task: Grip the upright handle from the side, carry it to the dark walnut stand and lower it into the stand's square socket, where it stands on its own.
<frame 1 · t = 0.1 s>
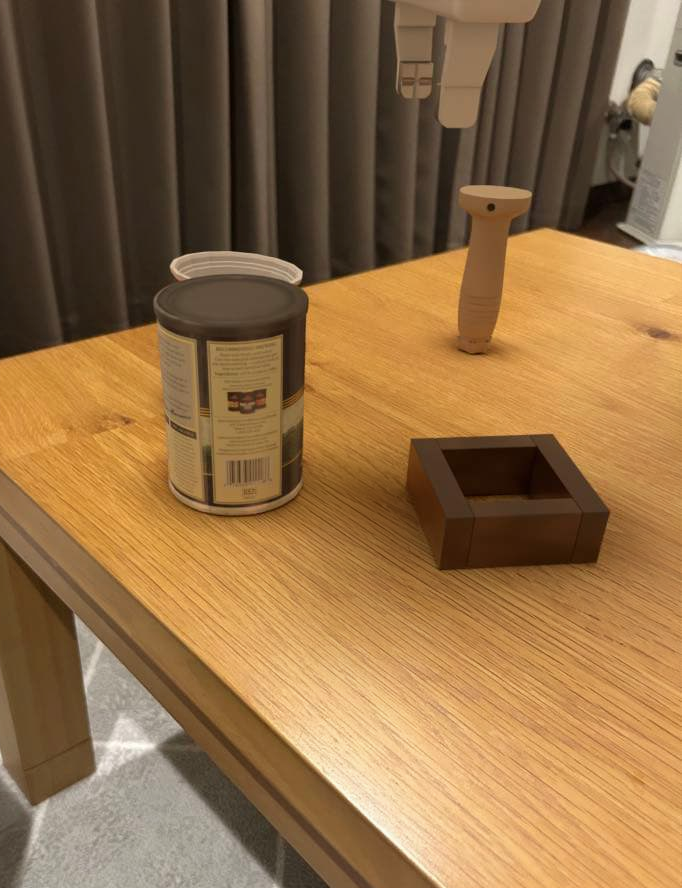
hand: (431, 110, 46), 26 cm above the table, tool pointing down, fingers open, 8 cm apart
stand: (494, 521, 61), on the table
coffee can: (235, 482, 65), on the table
handle: (472, 350, 87), on the table
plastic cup: (239, 401, 77), on the table
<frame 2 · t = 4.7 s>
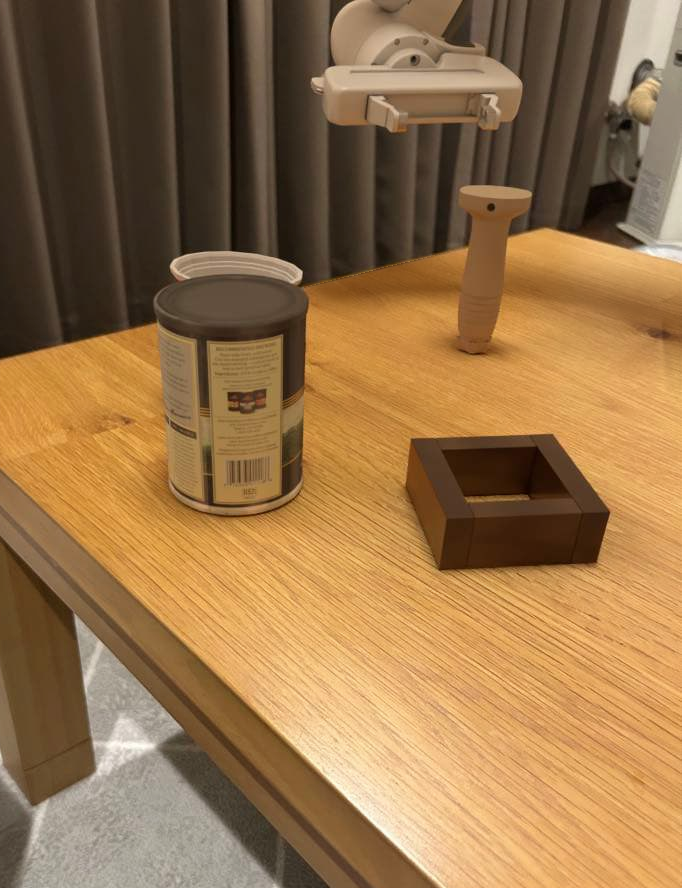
hand: (447, 122, 82), 19 cm above the table, tool horizontal, fingers open, 8 cm apart
nothing on the table moved.
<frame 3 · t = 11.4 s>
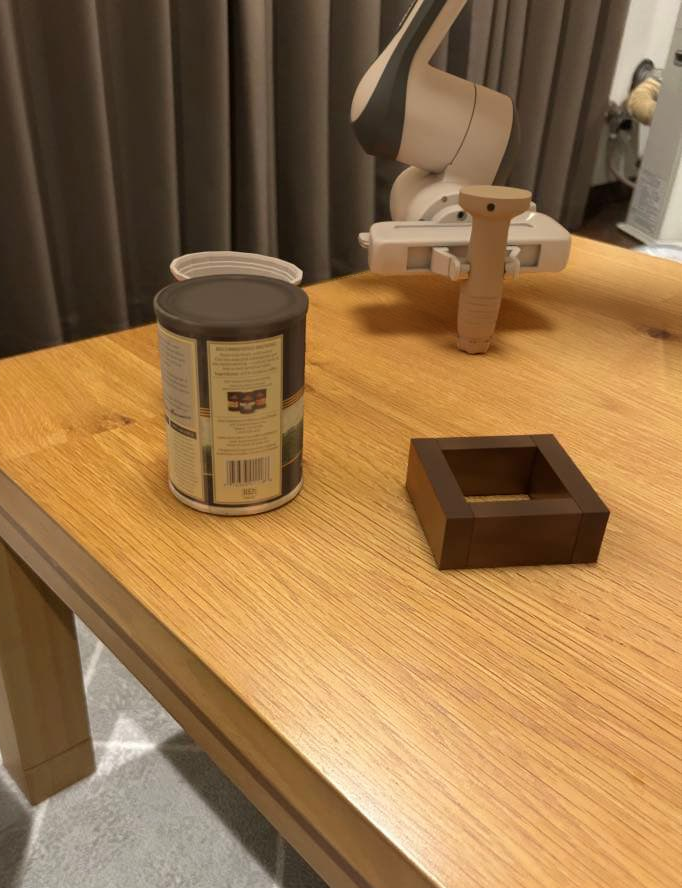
hand: (487, 272, 82), 8 cm above the table, tool horizontal, fingers closed on handle, 3 cm apart
handle: (472, 350, 87), on the table, touching gripper
everything else where it was.
when the fingers open (8 cm above the table, at t = 23.0 s): handle stays where it is, resting in stand.
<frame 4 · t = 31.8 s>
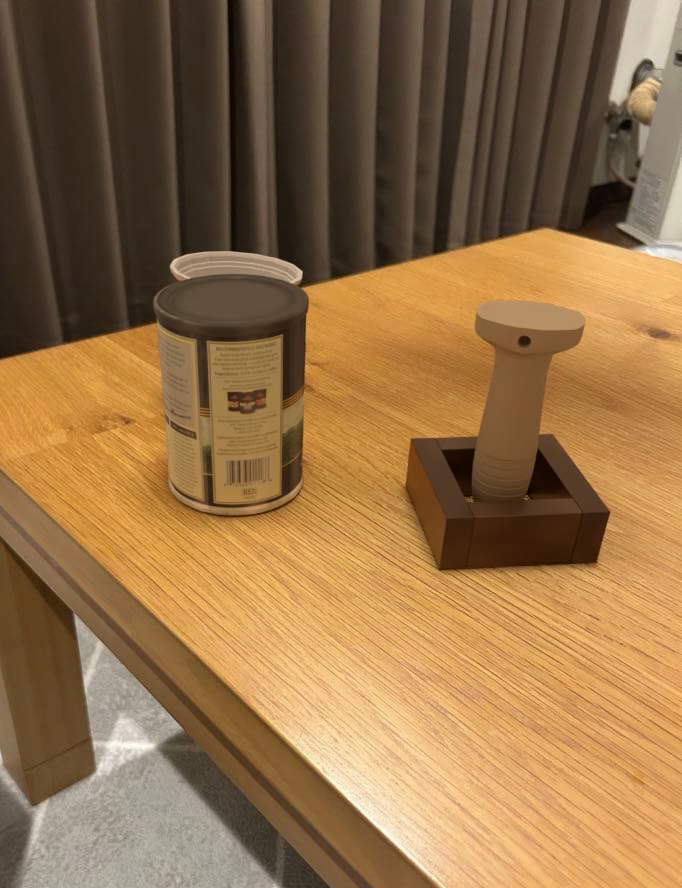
handle: (492, 523, 61), resting in stand
everything else where it was.
at the end: handle 0.1 cm off-centre in the stand, point 0.0 cm above the stand's base; handle tilted 0°; the gripper is holding nothing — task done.
